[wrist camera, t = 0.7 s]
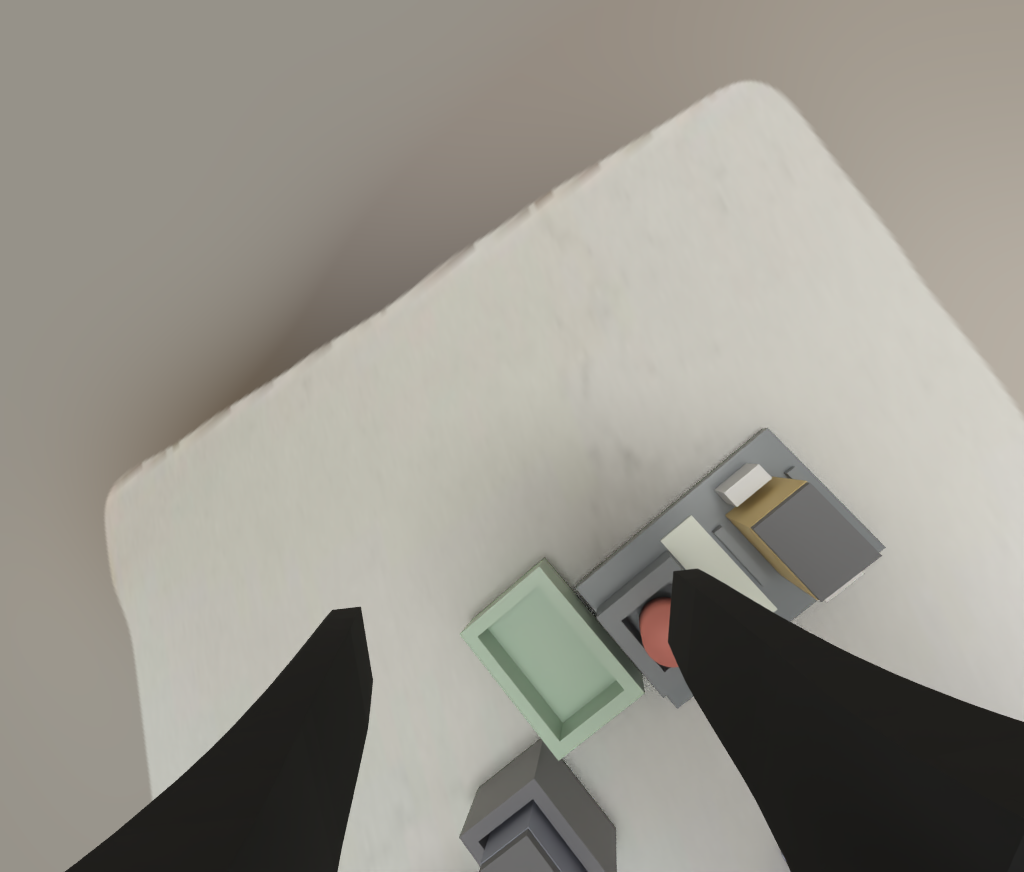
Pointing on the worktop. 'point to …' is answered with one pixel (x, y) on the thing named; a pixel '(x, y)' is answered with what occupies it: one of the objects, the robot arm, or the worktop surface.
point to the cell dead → (528, 845)
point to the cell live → (803, 536)
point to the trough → (553, 659)
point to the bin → (543, 808)
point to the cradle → (703, 554)
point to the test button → (657, 631)
